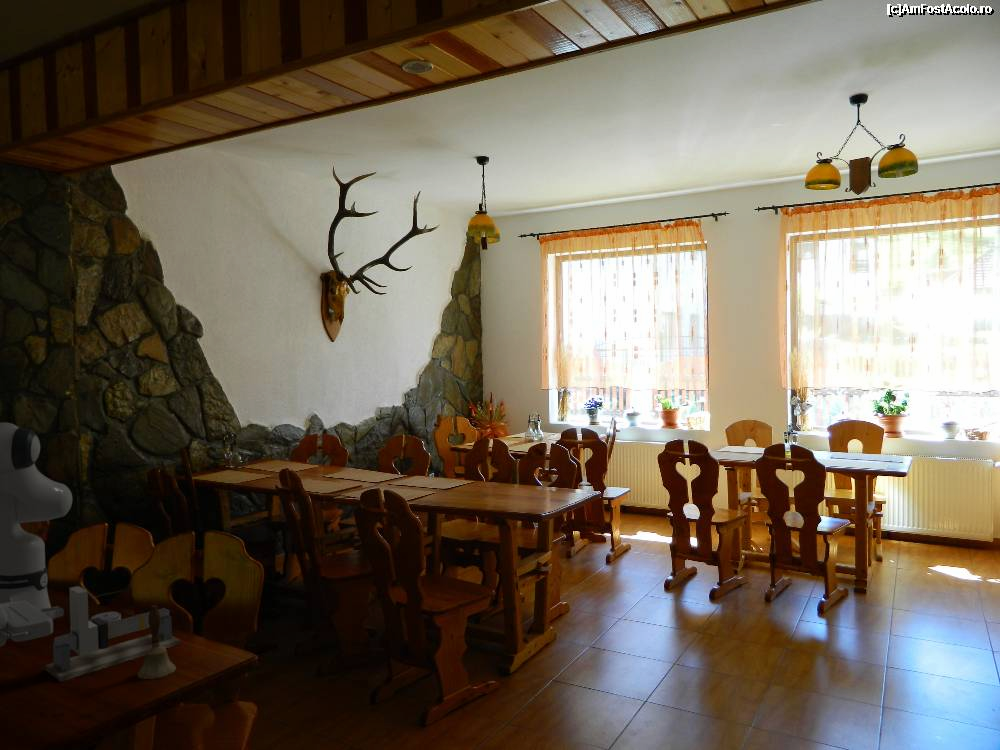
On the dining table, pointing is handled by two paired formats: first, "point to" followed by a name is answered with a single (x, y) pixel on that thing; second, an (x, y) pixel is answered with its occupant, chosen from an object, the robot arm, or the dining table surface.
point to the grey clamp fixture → (110, 635)
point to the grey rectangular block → (82, 622)
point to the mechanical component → (108, 616)
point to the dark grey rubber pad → (102, 632)
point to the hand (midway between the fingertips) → (61, 610)
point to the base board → (108, 657)
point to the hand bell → (156, 652)
